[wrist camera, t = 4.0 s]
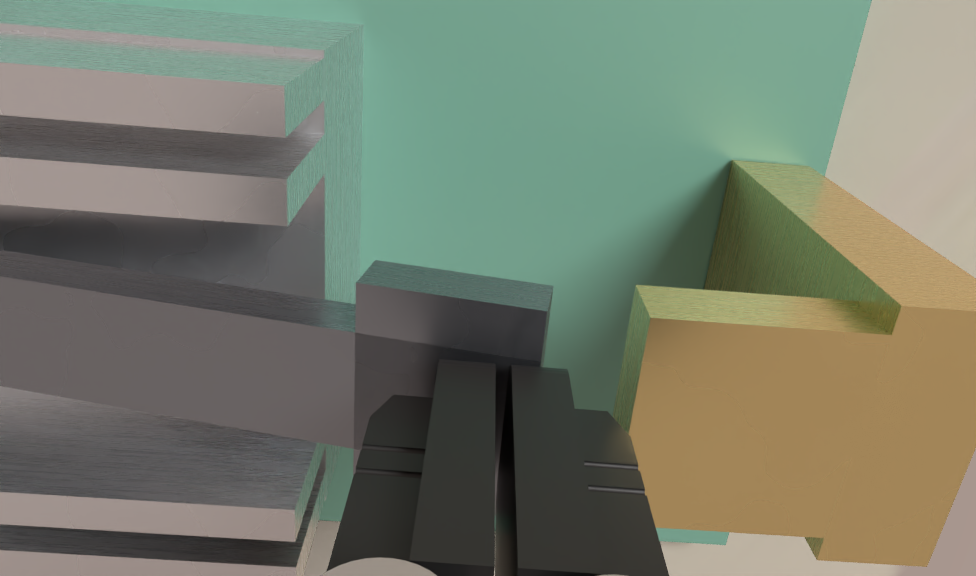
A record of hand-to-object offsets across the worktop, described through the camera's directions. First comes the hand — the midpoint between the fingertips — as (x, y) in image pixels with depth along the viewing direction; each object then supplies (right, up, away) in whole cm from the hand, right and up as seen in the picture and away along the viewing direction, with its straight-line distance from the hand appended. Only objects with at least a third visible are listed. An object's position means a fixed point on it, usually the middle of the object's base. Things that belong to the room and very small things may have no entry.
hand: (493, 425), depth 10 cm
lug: (+4, +3, +6) cm, 8 cm away
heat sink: (-7, +3, +6) cm, 10 cm away
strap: (-6, +1, +2) cm, 6 cm away
